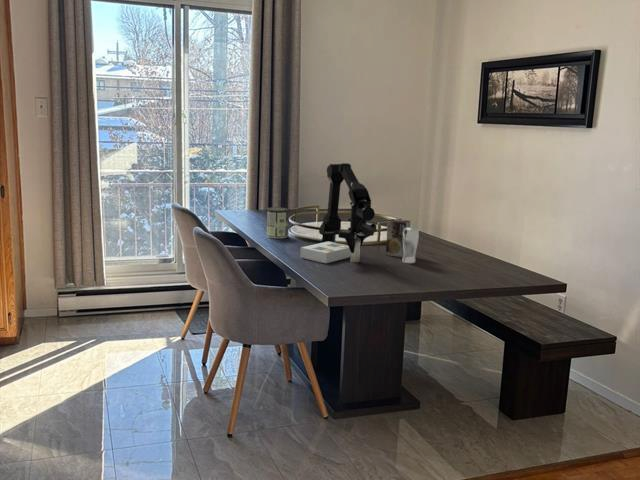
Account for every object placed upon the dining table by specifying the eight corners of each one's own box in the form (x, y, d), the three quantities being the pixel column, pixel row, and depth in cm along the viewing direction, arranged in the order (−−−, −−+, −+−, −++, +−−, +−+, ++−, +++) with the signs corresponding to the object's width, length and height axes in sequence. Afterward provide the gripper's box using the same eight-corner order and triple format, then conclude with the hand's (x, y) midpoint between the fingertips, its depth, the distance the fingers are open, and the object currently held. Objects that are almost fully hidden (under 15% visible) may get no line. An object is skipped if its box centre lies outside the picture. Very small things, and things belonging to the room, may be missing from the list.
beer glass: (406, 264, 284) (409, 230, 281) (397, 260, 290) (400, 227, 287) (419, 263, 287) (422, 229, 284) (410, 259, 293) (413, 226, 290)
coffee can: (274, 233, 337) (275, 206, 334) (290, 236, 331) (292, 208, 329) (262, 236, 328) (262, 208, 325) (278, 239, 323) (279, 211, 320)
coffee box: (408, 255, 303) (411, 220, 299) (404, 257, 297) (406, 222, 294) (389, 252, 306) (392, 218, 303) (384, 255, 301) (387, 220, 297)
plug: (353, 259, 288) (355, 237, 286) (361, 261, 286) (362, 238, 284) (348, 261, 285) (349, 238, 283) (355, 262, 283) (357, 240, 281)
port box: (327, 250, 303) (328, 240, 302) (352, 256, 295) (353, 245, 294) (300, 257, 288) (300, 246, 287) (325, 263, 279) (326, 252, 278)
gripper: (360, 221, 270) (358, 258, 273) (385, 217, 284) (382, 252, 287) (338, 217, 276) (336, 254, 280) (363, 213, 291) (361, 247, 294)
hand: (355, 252), depth 285 cm, fingers closed on plug, 4 cm apart
